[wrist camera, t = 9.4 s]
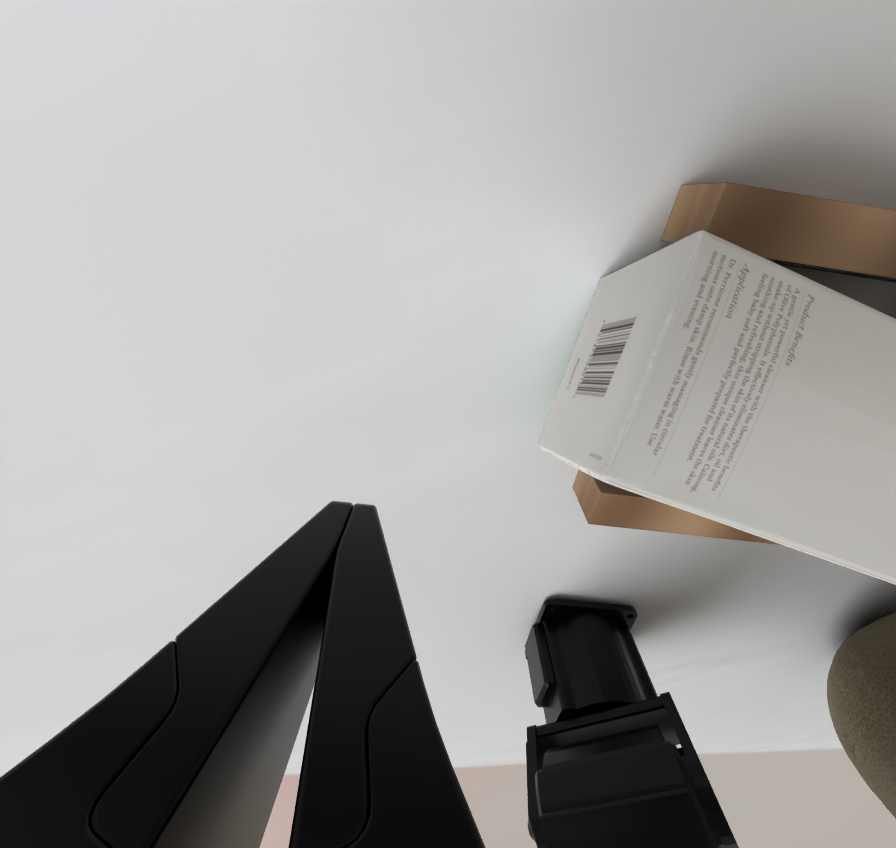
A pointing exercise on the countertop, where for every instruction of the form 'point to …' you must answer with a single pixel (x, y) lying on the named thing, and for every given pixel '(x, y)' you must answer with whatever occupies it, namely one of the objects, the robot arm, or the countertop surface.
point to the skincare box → (738, 400)
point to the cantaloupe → (868, 704)
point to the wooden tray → (787, 239)
